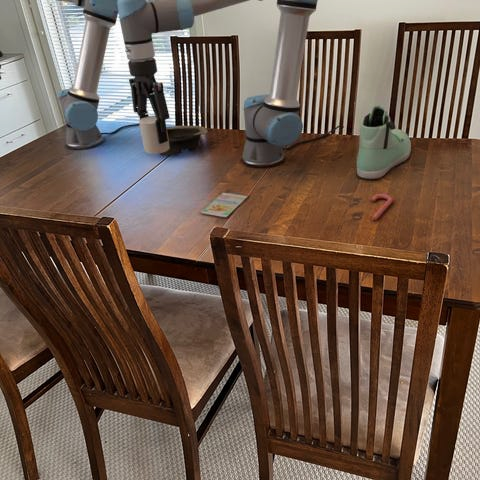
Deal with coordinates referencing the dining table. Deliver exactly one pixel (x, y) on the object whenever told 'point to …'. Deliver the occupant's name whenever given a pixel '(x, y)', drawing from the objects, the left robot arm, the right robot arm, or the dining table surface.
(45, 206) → the dining table surface
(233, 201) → the baking ingredient package
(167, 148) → the canister
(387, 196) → the candy cane
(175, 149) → the stone bowl
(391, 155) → the sneaker
